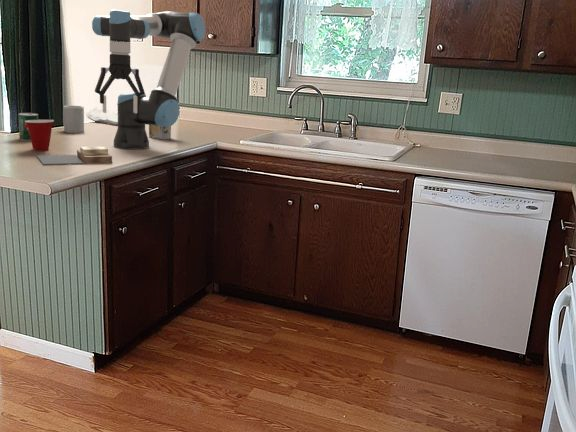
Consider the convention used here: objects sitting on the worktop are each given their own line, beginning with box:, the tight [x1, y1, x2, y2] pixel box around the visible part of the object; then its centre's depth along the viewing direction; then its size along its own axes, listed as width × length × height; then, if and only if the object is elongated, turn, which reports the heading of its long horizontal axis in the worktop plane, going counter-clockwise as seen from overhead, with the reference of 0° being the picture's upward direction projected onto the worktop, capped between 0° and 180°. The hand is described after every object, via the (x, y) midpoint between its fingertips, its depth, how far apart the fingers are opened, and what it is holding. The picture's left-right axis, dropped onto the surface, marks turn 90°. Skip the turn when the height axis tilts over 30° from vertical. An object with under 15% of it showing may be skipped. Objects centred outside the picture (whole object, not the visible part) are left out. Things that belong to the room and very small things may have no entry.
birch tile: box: [79, 145, 109, 155], centre depth 230 cm, size 9×6×2 cm, turn 120°
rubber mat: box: [36, 154, 85, 166], centre depth 225 cm, size 14×16×1 cm
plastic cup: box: [25, 119, 55, 152], centre depth 241 cm, size 11×11×12 cm
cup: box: [63, 105, 85, 134], centre depth 291 cm, size 9×9×12 cm
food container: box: [85, 106, 118, 126], centre depth 328 cm, size 12×30×6 cm, turn 57°
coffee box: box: [148, 125, 172, 140], centre depth 291 cm, size 9×6×16 cm
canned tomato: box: [17, 112, 39, 142], centre depth 261 cm, size 8×8×11 cm
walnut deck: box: [76, 149, 113, 165], centre depth 231 cm, size 10×14×2 cm
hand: (120, 112), depth 231 cm, fingers open, 11 cm apart
